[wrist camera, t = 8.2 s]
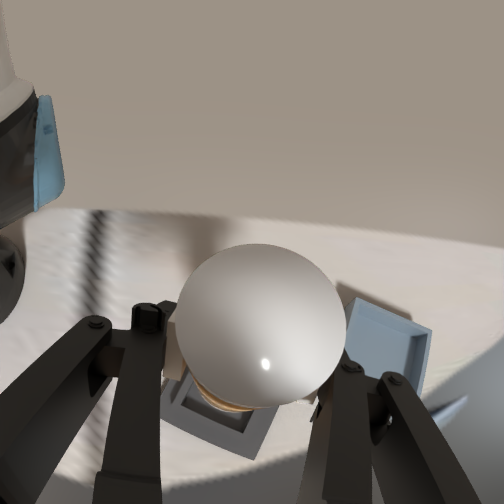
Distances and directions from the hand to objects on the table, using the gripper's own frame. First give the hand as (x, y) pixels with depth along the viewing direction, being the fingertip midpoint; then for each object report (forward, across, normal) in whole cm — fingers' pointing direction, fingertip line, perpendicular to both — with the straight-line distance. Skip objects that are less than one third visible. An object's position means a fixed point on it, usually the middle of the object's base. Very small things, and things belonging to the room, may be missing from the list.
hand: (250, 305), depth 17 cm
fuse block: (+10, 0, -16) cm, 19 cm away
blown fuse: (0, 0, -5) cm, 5 cm away
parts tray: (+14, +18, -11) cm, 26 cm away
